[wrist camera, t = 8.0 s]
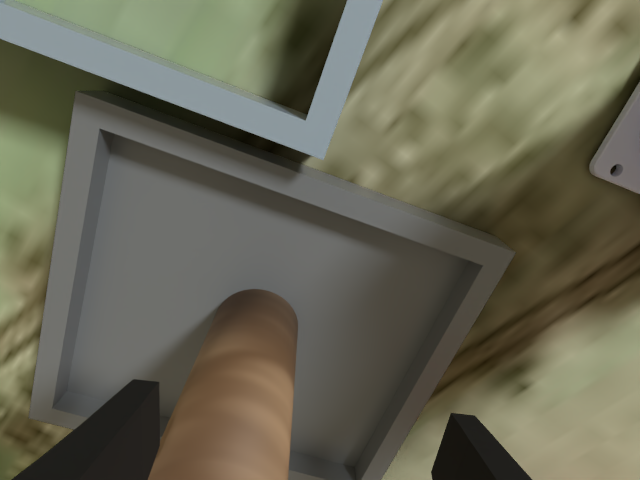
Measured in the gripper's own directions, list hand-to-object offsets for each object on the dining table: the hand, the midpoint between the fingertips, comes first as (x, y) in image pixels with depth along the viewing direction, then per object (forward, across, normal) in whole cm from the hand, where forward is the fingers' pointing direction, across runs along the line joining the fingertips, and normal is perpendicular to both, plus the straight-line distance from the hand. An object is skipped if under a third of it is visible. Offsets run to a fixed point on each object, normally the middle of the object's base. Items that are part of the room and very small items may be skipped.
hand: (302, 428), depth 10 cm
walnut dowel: (+9, +2, +3) cm, 9 cm away
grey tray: (+10, +2, +3) cm, 10 cm away
